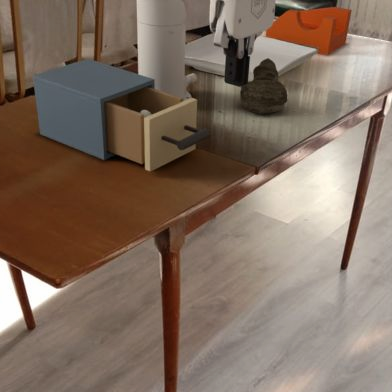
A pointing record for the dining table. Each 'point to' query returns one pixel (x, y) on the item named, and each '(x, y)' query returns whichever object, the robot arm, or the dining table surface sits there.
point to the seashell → (264, 90)
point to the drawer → (152, 127)
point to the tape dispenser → (313, 28)
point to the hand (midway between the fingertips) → (235, 83)
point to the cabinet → (82, 102)
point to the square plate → (263, 48)
